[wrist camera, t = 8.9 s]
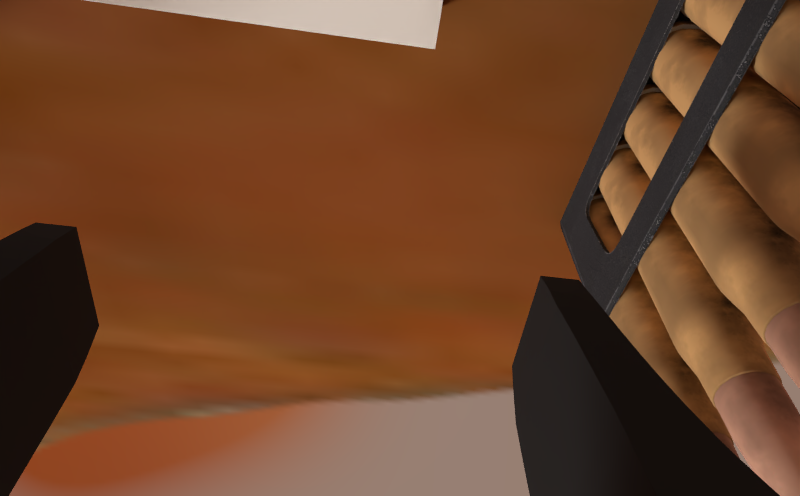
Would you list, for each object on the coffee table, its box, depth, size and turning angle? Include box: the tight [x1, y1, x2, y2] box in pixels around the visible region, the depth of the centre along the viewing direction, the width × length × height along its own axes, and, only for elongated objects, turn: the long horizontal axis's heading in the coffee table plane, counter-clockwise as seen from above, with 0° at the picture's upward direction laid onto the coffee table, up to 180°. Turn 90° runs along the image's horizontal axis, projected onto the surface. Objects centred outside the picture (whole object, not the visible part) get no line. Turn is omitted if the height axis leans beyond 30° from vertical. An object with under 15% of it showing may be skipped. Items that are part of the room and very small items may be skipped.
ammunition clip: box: [561, 0, 800, 496], centre depth 13 cm, size 11×2×12 cm, turn 168°
